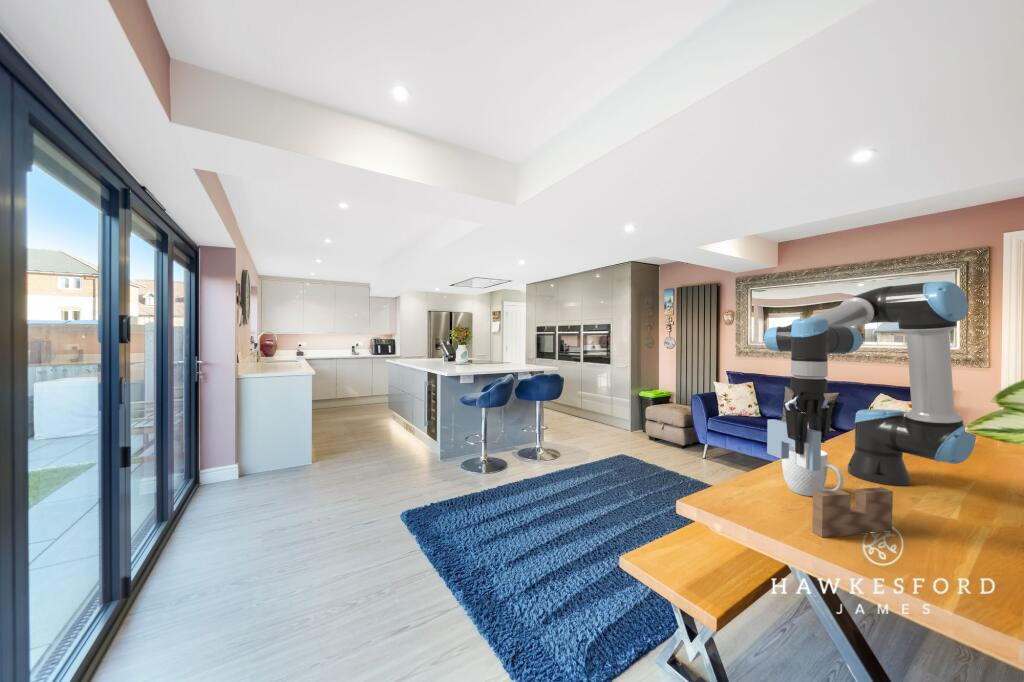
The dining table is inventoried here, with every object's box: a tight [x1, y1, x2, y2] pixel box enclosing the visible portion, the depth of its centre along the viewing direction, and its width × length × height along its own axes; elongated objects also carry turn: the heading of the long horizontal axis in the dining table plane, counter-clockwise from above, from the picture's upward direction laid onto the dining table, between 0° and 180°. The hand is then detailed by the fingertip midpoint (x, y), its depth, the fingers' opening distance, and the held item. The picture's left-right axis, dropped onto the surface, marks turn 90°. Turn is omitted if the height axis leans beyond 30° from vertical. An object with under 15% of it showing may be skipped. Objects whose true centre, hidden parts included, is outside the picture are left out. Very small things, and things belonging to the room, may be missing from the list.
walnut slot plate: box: [811, 486, 894, 538], centre depth 91 cm, size 20×2×10 cm, turn 98°
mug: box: [781, 444, 844, 497], centre depth 112 cm, size 15×11×13 cm
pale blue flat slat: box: [766, 419, 822, 471], centre depth 102 cm, size 14×2×10 cm, turn 8°
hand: (807, 465), depth 97 cm, fingers closed on pale blue flat slat, 2 cm apart
